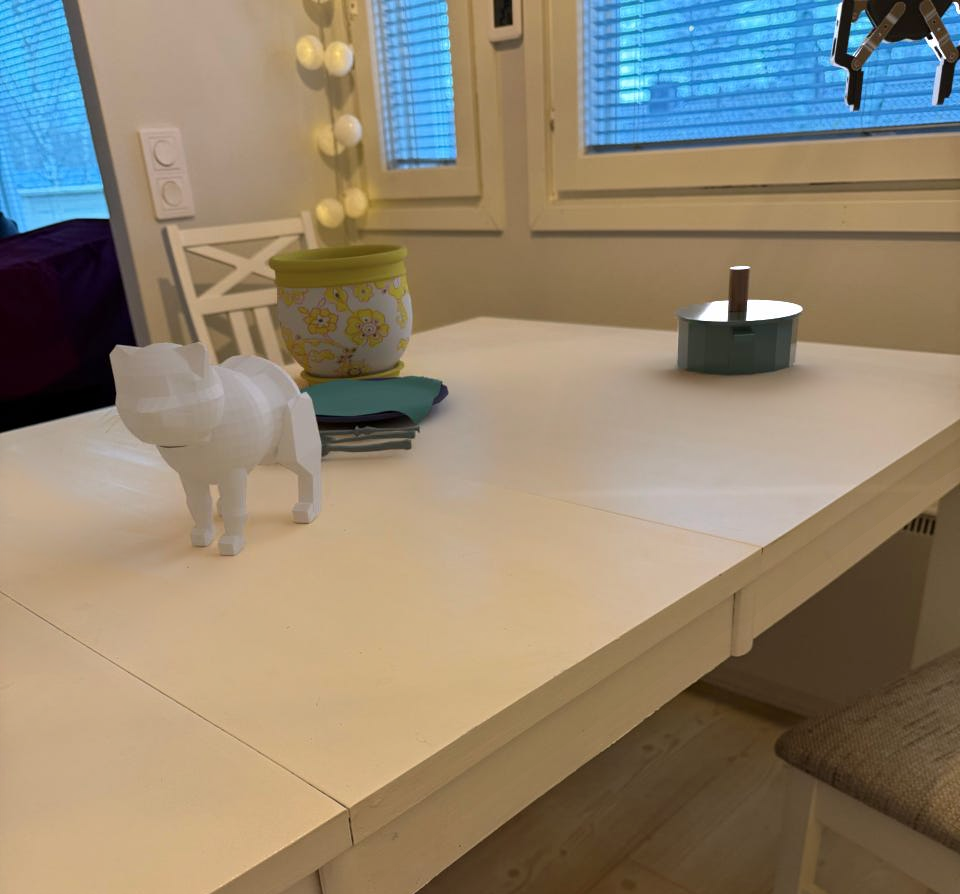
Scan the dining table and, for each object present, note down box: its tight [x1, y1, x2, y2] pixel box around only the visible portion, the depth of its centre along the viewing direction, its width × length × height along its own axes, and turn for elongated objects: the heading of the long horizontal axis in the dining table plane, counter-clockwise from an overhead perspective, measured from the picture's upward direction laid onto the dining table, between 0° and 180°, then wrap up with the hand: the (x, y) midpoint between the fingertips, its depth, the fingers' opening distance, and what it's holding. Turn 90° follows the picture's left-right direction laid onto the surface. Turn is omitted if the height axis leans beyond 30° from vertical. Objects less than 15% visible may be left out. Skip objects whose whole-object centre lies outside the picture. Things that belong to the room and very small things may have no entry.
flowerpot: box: [268, 243, 413, 386], centre depth 127 cm, size 18×18×16 cm
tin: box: [676, 316, 800, 376], centre depth 121 cm, size 15×20×6 cm
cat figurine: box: [98, 341, 323, 556], centre depth 77 cm, size 25×10×17 cm, turn 164°
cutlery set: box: [299, 375, 449, 458], centre depth 109 cm, size 20×30×2 cm, turn 176°
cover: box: [673, 266, 803, 325], centre depth 118 cm, size 16×16×6 cm
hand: (895, 108), depth 103 cm, fingers open, 8 cm apart
